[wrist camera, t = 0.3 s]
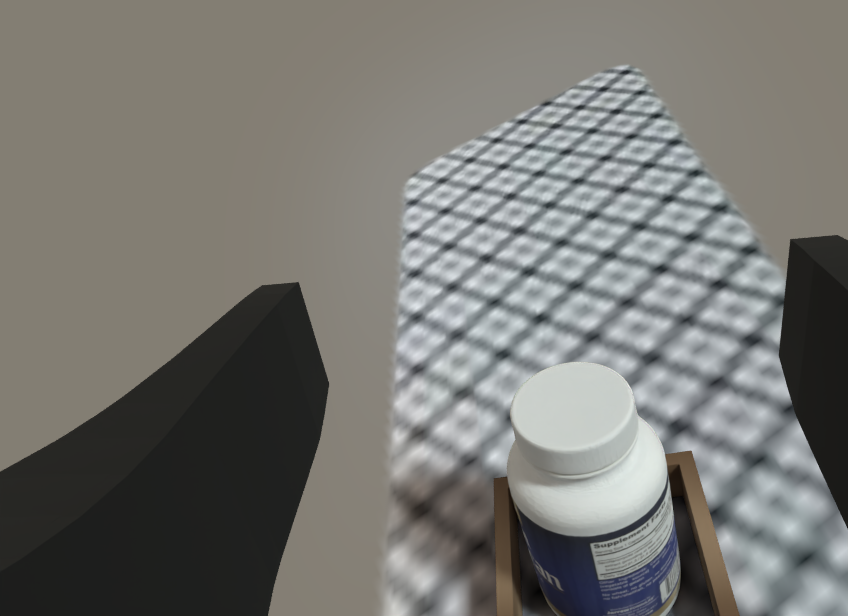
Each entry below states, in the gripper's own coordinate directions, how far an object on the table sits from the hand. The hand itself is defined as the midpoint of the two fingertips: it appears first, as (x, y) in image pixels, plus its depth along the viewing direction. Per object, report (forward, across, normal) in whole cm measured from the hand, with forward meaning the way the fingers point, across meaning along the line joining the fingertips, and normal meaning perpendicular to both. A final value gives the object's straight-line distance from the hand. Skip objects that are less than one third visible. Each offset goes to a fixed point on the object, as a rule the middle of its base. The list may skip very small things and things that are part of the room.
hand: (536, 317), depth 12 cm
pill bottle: (+10, -1, +20) cm, 23 cm away
